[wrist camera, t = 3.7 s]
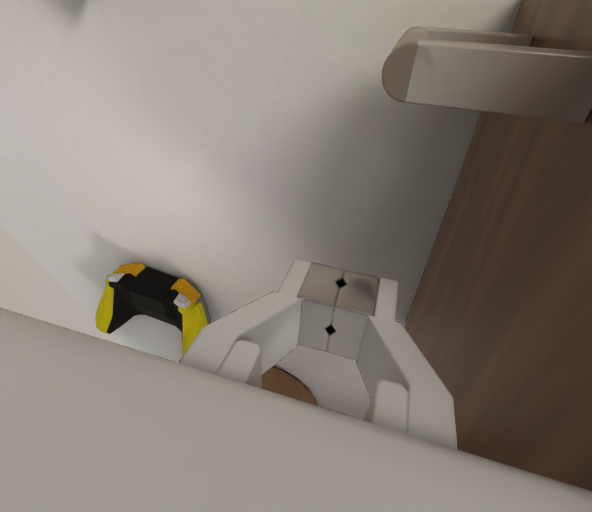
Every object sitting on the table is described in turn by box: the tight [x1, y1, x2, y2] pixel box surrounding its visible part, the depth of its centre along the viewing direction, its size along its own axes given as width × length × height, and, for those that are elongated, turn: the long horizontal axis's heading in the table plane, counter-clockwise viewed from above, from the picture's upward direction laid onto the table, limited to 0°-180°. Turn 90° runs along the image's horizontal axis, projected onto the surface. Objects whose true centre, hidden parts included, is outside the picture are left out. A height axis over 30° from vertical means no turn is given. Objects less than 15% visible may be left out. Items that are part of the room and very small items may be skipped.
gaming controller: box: [96, 263, 211, 355], centre depth 40 cm, size 15×6×10 cm
